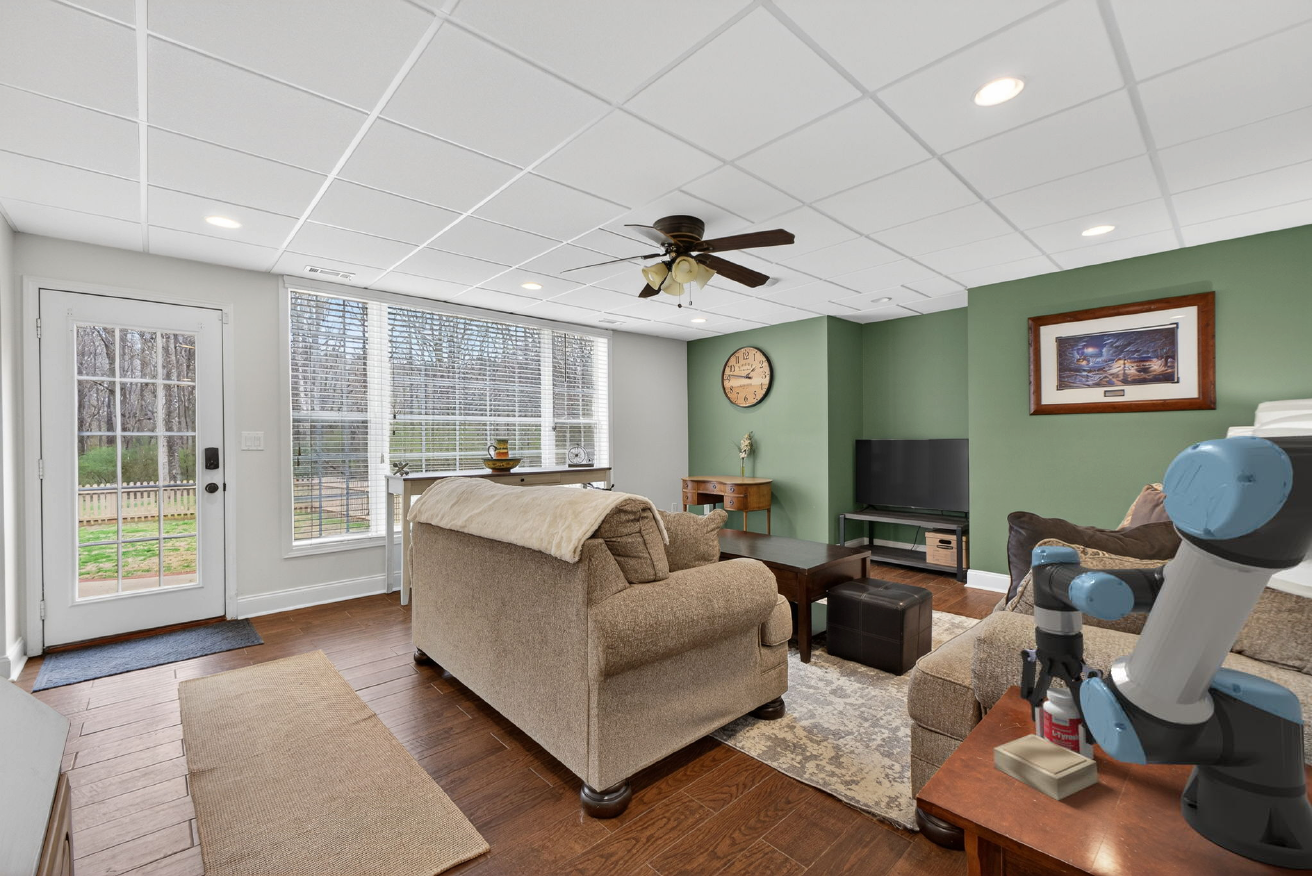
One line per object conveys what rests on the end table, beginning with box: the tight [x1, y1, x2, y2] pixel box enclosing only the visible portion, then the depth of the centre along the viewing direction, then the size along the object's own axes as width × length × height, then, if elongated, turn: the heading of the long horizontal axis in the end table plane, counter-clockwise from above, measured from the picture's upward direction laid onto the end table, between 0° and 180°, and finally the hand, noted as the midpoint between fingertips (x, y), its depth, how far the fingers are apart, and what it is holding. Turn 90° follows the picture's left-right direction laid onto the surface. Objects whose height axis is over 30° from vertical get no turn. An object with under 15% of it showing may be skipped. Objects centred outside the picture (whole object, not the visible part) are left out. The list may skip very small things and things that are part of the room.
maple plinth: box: [993, 733, 1098, 801], centre depth 101 cm, size 11×11×4 cm
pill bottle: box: [1042, 687, 1083, 754], centre depth 109 cm, size 6×6×11 cm
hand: (1064, 749), depth 109 cm, fingers open, 7 cm apart
